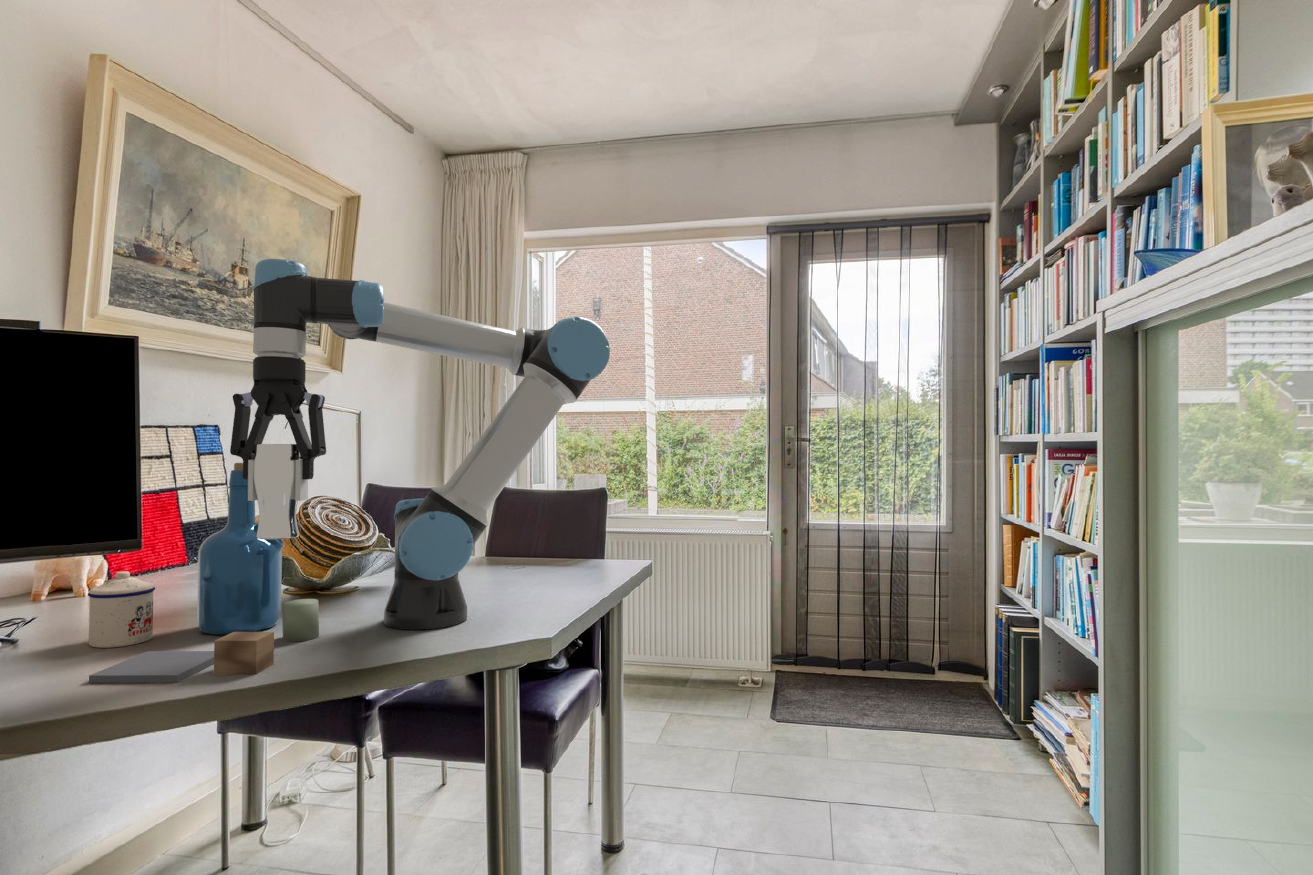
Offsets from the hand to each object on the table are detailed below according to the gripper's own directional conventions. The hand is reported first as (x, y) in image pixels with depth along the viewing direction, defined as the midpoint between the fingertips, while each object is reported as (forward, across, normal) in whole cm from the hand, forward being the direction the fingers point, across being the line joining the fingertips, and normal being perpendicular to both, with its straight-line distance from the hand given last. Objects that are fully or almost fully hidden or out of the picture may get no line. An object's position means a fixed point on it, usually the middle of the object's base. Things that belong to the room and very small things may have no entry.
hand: (278, 499), depth 115 cm
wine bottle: (+25, +14, -16) cm, 32 cm away
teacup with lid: (+25, +29, -8) cm, 39 cm away
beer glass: (+6, 0, 0) cm, 6 cm away
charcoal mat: (+24, +12, +9) cm, 29 cm away
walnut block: (+25, 0, +9) cm, 26 cm away
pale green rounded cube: (+24, 0, -9) cm, 26 cm away
